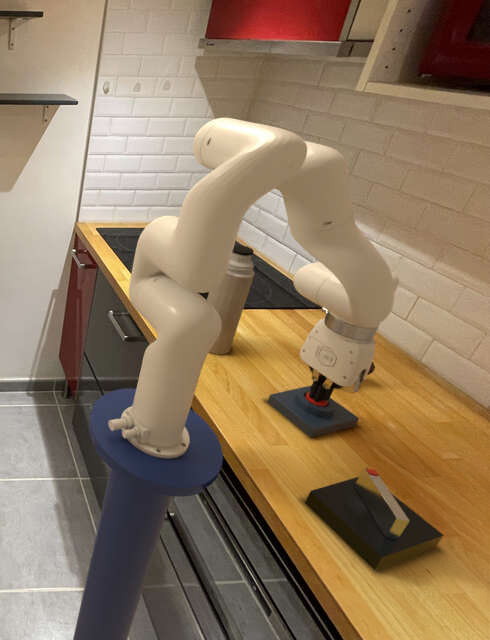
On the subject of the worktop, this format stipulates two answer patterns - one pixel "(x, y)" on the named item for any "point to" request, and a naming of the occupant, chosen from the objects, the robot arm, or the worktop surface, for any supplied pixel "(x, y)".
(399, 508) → the silver lever handle
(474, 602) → the worktop surface
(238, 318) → the thermos bottle
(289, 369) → the worktop surface
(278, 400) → the red push button box
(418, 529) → the base
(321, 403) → the button
